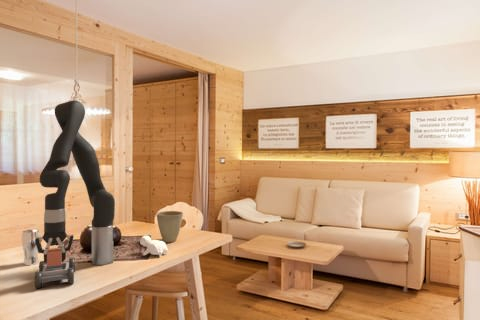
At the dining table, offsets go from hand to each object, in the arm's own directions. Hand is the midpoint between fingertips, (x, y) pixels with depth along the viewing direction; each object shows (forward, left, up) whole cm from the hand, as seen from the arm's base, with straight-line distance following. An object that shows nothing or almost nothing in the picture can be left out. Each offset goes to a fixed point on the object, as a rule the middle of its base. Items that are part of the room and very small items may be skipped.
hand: (54, 261), depth 139 cm
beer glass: (+12, -27, -8) cm, 30 cm away
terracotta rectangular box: (0, 0, -1) cm, 1 cm away
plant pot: (-55, -42, -8) cm, 70 cm away
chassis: (0, -2, -8) cm, 8 cm away
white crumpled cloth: (-42, -21, -8) cm, 48 cm away
